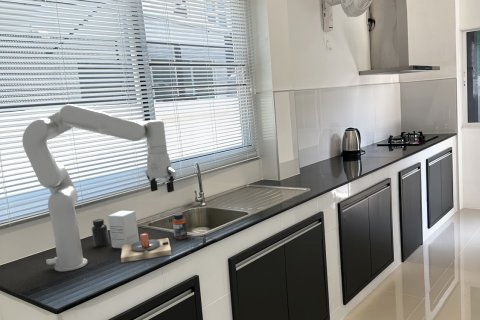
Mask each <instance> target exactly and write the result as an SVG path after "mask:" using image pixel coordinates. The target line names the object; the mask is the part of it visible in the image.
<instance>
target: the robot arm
mask: <svg viewBox="0 0 480 320" xmlns="http://www.w3.org/2000/svg"><path fill="white" fill-rule="evenodd" d="M73 128H74V129H75V128H76V129H79V130H80V129H81V130H84V131H88V132H92V133H97V134H100V135H104V136H105V135H106V136H110V137H115V138H118V139H123V140H128V141H132V142H139V141H141V140H142V139H146V142H147V153H148V154H147V159H146V160H147V161H146V167H147V169H146V170H145V171H144V173H145V176H146V178H147V179H148V182H149V183H150V184H149V185H150V191H151V192H155V191H158V187H159V186H158V181H157V179H160V180H161V179H165V181H166V191H167V193H171V192H174V191H175V188H174V187H175V186H174V182H175V179H176V175H177V171H175V169H173V168H172V166H171V165H172V164H171V159H170V156H169V153H168V150H167V147H168V146H167V140H166V131H165V123H164V121H163V120H161V119H154V120H148V121H133V120H130V119H124V118H120V117H117V116H114V115H110V114H108V113H106V112H104V111H101V110H99V111H98V110H97V109H91V108H86V107H83V106H78V105H76V104H65V105H62V107H61V108H60V109H59V111H57V112H55V113H54V114H51V115H50V116H48V117H46V118H37V119H36V120H33V121H32V122H30V124H29V125H27V127H26V128H25V129H24V132H23V135H22V139H21V140H22V147H23V150H24V152H25V154H26V157H27V158H28V161H29V163H30V165H31V167H32V170H33V171H34V174H35V176H36V178H37V181H38V182H39V184H40V185H41V187H43V188H46V189H49V192H50V195H49V197H48V201H47V209H48V212H49V213H48V214H49V216H50V220H51V227H52V232H53V238H54V246H55V251H56V256H55V257H54V258H48V259H46V260H45V261H46V262H45V263H46V265H48V266H51V265H52V266H53V265H54V270H55V271H57V272H71V271H74V270H78V269H80V268H83V267H85V266H86V265H88V263H89V261H88V259H87V258H85V257H84V256H83V249H82V243H81V242H82V241H81V235H80V228H79V221H78V216H77V212H76V206H75V205H76V203H77V202H78V199H79V196H78V191H77V189H76V187H75V185H74V183H73V180H72V179H71V176H70V174H69V172H68V170H67V169H66V167H65V166H64V165H63V164H61V163H60V162H56V159H55V158H54V155H53V153H52V151H51V149H50V148H49V146H48V141H49V140H52V139H55V138H56V137H58V136H60V135H62V134H64V133H66V132H68V131H69V130H71V129H73Z"/></svg>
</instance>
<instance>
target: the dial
mask: <svg viewBox="0 0 480 320" xmlns="http://www.w3.org/2000/svg"><path fill="white" fill-rule="evenodd" d="M139 236H140V237H139V239H140V240H139V242H136V243H134V244H132V245H131V249H132V250H133V251H144V250H147V251H148V250H152V249H155V248H157V247H159V246H160V241H159V240H158V239H153V238H152V239H149V233H147V232H144V233H141V234H140V235H139Z"/></svg>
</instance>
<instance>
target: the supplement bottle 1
mask: <svg viewBox="0 0 480 320" xmlns="http://www.w3.org/2000/svg"><path fill="white" fill-rule="evenodd" d="M92 225H93V226H92V227H91V235H92V239H93V241H92V242H93V246H94V247H95V248H103V246H104V247H106V245H107V246H108V245H110V238H109V231H108V226H107V224H105V221H104V218H97V219H94V220H92Z"/></svg>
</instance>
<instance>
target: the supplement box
mask: <svg viewBox="0 0 480 320" xmlns="http://www.w3.org/2000/svg"><path fill="white" fill-rule="evenodd" d="M107 220H108V226H109V227H108V228H109V235H110V240H111V241H110V243H111V248H112V247H113V248H114V249H122V245H126V244H132V243H136V242H139V241H140V237H139V236H140V235H139V229H138V223H137V222H138V221H137V214H136V211H135V210H119V211H116V212H114V213H112V214H109V215H107ZM113 248H112V249H113Z"/></svg>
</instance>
